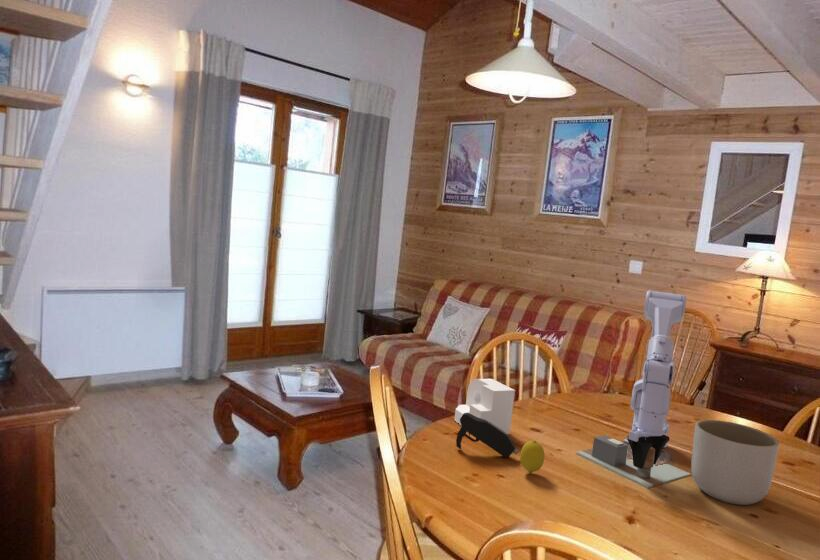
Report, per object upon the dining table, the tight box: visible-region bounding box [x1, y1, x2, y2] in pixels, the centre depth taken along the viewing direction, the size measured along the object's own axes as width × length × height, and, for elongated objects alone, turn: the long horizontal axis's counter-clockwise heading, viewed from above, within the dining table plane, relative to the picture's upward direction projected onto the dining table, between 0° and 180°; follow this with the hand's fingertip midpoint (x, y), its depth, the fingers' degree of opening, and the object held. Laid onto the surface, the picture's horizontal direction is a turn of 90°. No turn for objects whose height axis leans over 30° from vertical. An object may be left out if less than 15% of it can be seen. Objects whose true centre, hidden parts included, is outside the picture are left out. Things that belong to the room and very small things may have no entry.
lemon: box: [519, 439, 545, 474], centre depth 138 cm, size 6×6×8 cm
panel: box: [575, 448, 692, 489], centre depth 150 cm, size 18×21×1 cm
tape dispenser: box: [454, 378, 516, 435], centre depth 168 cm, size 16×10×13 cm, turn 27°
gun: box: [455, 413, 519, 458], centre depth 148 cm, size 3×16×10 cm, turn 78°
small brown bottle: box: [637, 447, 655, 479], centre depth 141 cm, size 4×4×7 cm
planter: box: [690, 419, 780, 506], centre depth 136 cm, size 17×17×15 cm
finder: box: [592, 434, 629, 467], centre depth 150 cm, size 4×7×5 cm, turn 34°
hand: (644, 465), depth 141 cm, fingers open, 5 cm apart
